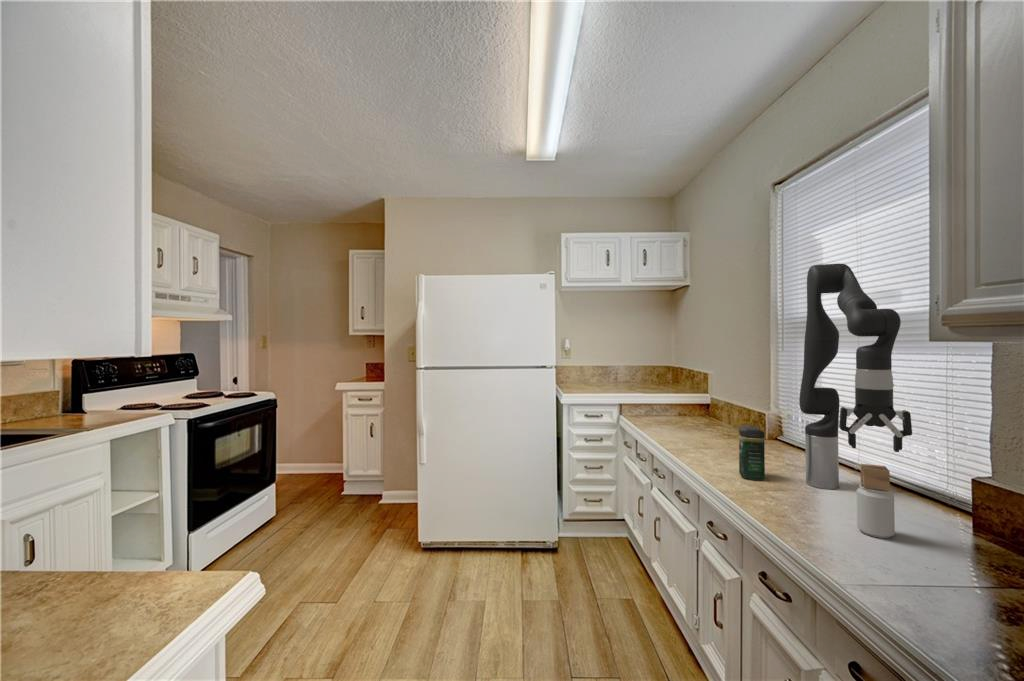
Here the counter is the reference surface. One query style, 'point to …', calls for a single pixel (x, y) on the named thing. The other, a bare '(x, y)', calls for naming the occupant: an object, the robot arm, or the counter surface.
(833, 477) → the robot arm
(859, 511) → the can
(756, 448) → the coffee jar
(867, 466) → the block
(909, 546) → the counter surface
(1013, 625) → the counter surface
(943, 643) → the counter surface
